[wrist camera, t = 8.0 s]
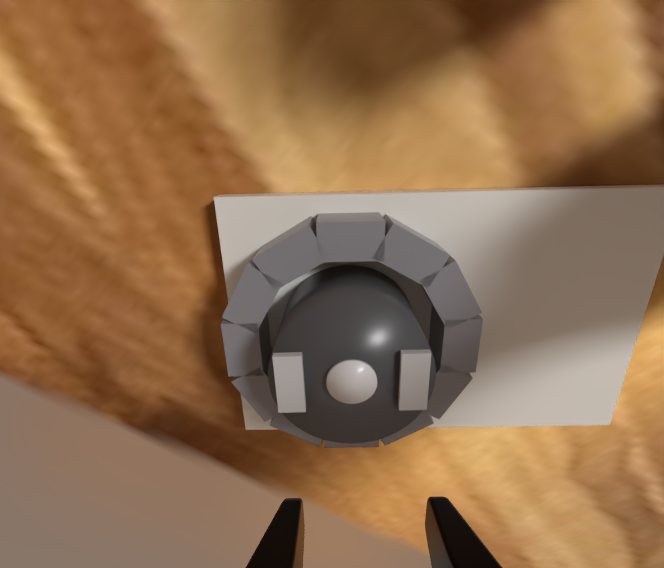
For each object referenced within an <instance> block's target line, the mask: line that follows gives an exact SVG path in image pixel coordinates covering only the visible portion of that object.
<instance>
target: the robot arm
mask: <svg viewBox="0 0 664 568" xmlns="http://www.w3.org/2000/svg"><path fill="white" fill-rule="evenodd" d="M425 529H426V536H427V542H428V548H429V553H430V559H431V565H432V568H502V567H501V565H500V564H499V563H498V562H497V560H496V559H495V558H494V556H493V555H492V554H491V553H490V551H489V550H488V549H487V548H486V546H485V545H484V544H483V543H482V541H481V540H480V539H479V537H478V536H477V535H476V534H475V532H474V531H473V530H472V529H471V527H470V526H469V525H468V523H467V522H466V521H465V520H464V518H463V517H462V516H461V515H460V513H459V512H458V511H457V510H456V508H455V507H454V506H453V504H452V503H451V502H450V501H449V499H447V498H446V497H429V498H428V501H427V509H426V519H425ZM303 551H304V512H303V501H302V499H300V498H287V499H285V500H284V501H283V502H282V504H281V505H280V507H279V509H278V511H277V513H276V514H275V516H274V518H273V520H272V522H271V523H270V525H269V527H268V529H267V531H266V532H265V534H264V536H263V538H262V540H261V541H260V544H259V545H258V547H257V549H256V550H255V552H254V554H253V556H252V558H251V559H250V561H249V563H248V565H247V566H246V568H303Z"/></svg>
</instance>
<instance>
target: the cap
mask: <svg viewBox="0 0 664 568" xmlns="http://www.w3.org/2000/svg"><path fill="white" fill-rule="evenodd" d="M435 380H436V367H435V360H434V357H433V353H432V350H431V348H430V346H429V344H428V342H427V340H426V337H425V335H424V333H423V331H422V329H421V327H420V324H419V322H418V320H417V318H416V316H415V313H414V311H413V309H412V307H411V305H410V303H409V301H408V299H407V297H406V295H405V293H404V292H403V290H402V289H401V288H400V287H399V286H398V285H397V283H396V282H394V281H393V280H392V279H391V278H389V277H388V276H386V275H385V274H383V273H381V272H379V271H377V270H374V269H372V268H368V267H365V266H358V265H339V266H334V267H329V268H326V269H324V270H321V271H319V272H317V273H315V274H313V275H311V276H310V277H308V278H307V279H306V280H304V281H303V282H302V283H301V284H300V285H299V286H298V287H297V288H296V290H295V291H294V292H293V294H292V295H291V297H290V299H289V301H288V303H287V305H286V309H285V312H284V315H283V318H282V322H281V325H280V328H279V331H278V335H277V338H276V341H275V345H274V348H273V351H272V354H271V358H270V361H269V368H268V383H269V388H270V392H271V394H272V397H273V400H274V401H275V403H276V405H277V407H278V413H282V414H283V415H284V416H285V417H286V418H287V419H288V420H289V421H290V422H291V423H292V424H294V425H295V426H296V427H298V428H299V429H301V430H302V431H304V432H306V433H308V434H310V435H312V436H314V437H317V438H320V439H323V440H327V441H331V442H337V443H351V444H353V443H365V442H371V441H375V440H379V439H382V438H385V437H387V436H390V435H392V434H394V433H396V432H398V431H400V430H402V429H403V428H405V427H406V426H407V425H409V424H410V423H411V422H412V421H413V420H415V419H416V418H417V417H418V415H419V414H420V413H421V412H422V411H423V410H427V403H428V401H429V399H430V397H431V395H432V392H433V389H434V385H435Z"/></svg>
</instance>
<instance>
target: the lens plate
mask: <svg viewBox="0 0 664 568" xmlns="http://www.w3.org/2000/svg"><path fill="white" fill-rule="evenodd" d="M214 203H215V210H216V218H217V225H218V232H219V240H220V247H221V254H222V261H223V269H224V276H225V283H226V290H227V298H228V305H227V307H226V309H225V311H224V313H223V315H222V318H224V320H223V321H222V323H221V330H222V337H223V344H224V350H225V357H226V364H227V370H228V376H234V377H233V379H232V381H231V383H232V384H233V385H234V386H235V387H236V389H237V390H238V391H239V392H240V393H241V399H242V407H243V414H244V421H245V429H246V430H276V429H279V430H281V431H283V432H286V433H288V434H290V435H293V436H295V437H298V438H300V439H302V440H305V441H307V442H309V443H312V444H314V445H316V446H319V445H320V444H321V442H322V441H323V439H320V438H317V437H314V436H312V435H310V434H308V433H306V432H304V431H302V430H301V429H299V428H298V427H296V426H295V425H294V424H292V423H291V422H290V421H289V420H288V419H287V418H286V417H285V416H284V415H283V414H282V413H278V407H277V405H276V403H275V401H274V400H273V397H272V394H271V392H270V388H269V383H268V368H269V361H270V358H271V354H272V351H273V348H274V345H275V341H276V338H277V335H278V331H279V328H280V325H281V322H282V318H283V315H284V312H285V309H286V305H287V303H288V301H289V299H290V297H291V295H292V294H293V292H294V291H295V290H296V288H297V287H298V286H299V285H300V284H301V283H302V282H303V281H304V280H306V279H307V278H308V277H310V276H311V275H313V274H315V273H317V272H319V271H321V270H324V269H326V268H329V267H334V266H339V265H358V266H365V267H368V268H372V269H374V270H377V271H379V272H381V273H383V274H385V275H386V276H388V277H389V278H391V279H392V280H393V281H394V282H396V283H397V285H398V286H399V287H400V288H401V289H402V290H403V292H404V293H405V295H406V297H407V299H408V301H409V303H410V305H411V307H412V309H413V311H414V313H415V316H416V318H417V320H418V322H419V324H420V327H421V329H422V331H423V333H424V335H425V337H426V340H427V342H428V344H429V346H430V348H431V350H432V353H433V357H434V360H435V367H436V380H435V385H434V389H433V392H432V395H431V397H430V399H429V401H428V403H427V410H423V411H422V412H421V413H420V414H419V415H418V417H417V418H416V419H415V420H413V421H412V422H411V423H410V424H409V425H407V426H406V427H405V428H403V429H402V430H400V431H398V432H396V433H394V434H392V435H390V436H387V437H385V438H382V439H381V441H382V442H383V443H384V445H387V444H390V443H392V442H394V441H396V440H398V439H401V438H403V437H405V436H407V435H409V434H412V433H414V432H416V431H418V430H421V429H423V428H425V427H493V426H566V425H610V422H611V419H612V416H613V413H614V410H615V407H616V404H617V400H618V397H619V394H620V391H621V388H622V385H623V382H624V378H625V375H626V372H627V369H628V366H629V363H630V360H631V356H632V353H633V350H634V347H635V344H636V341H637V338H638V334H639V331H640V328H641V325H642V322H643V319H644V316H645V312H646V309H647V306H648V303H649V300H650V297H651V294H652V290H653V287H654V284H655V281H656V278H657V275H658V272H659V268H660V265H661V262H662V259H663V256H664V184H658V185H614V186H571V187H527V188H484V189H440V190H396V191H353V192H309V193H266V194H222V195H218V196H216V197H214ZM337 447H379V440H375V441H371V442H365V443H353V444H351V443H337V442H331V441H327V440H325V448H337Z"/></svg>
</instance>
